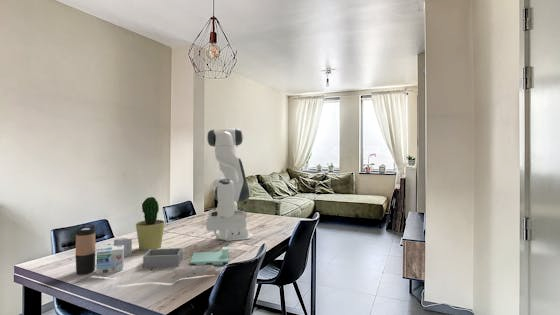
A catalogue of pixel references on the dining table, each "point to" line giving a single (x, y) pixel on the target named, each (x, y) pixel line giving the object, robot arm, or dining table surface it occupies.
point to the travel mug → (85, 250)
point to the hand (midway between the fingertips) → (226, 237)
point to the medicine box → (126, 243)
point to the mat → (224, 262)
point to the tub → (162, 257)
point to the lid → (210, 257)
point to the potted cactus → (150, 226)
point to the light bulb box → (110, 259)
